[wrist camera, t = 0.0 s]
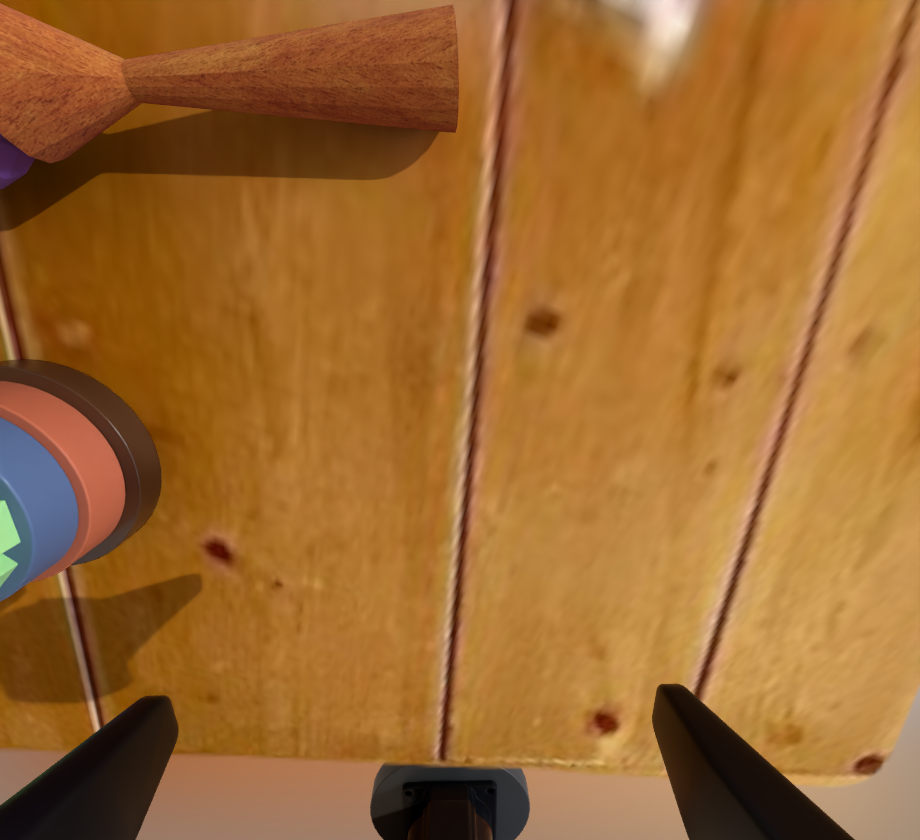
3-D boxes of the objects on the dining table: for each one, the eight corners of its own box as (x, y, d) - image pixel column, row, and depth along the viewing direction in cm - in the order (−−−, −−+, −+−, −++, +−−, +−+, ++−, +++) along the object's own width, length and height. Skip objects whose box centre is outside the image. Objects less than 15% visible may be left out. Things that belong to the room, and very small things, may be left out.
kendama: (466, 172, 13) (-255, 203, 12) (450, 176, 18) (-51, 198, 17) (458, -112, 10) (-492, -115, 9) (442, -12, 16) (-162, -5, 14)
